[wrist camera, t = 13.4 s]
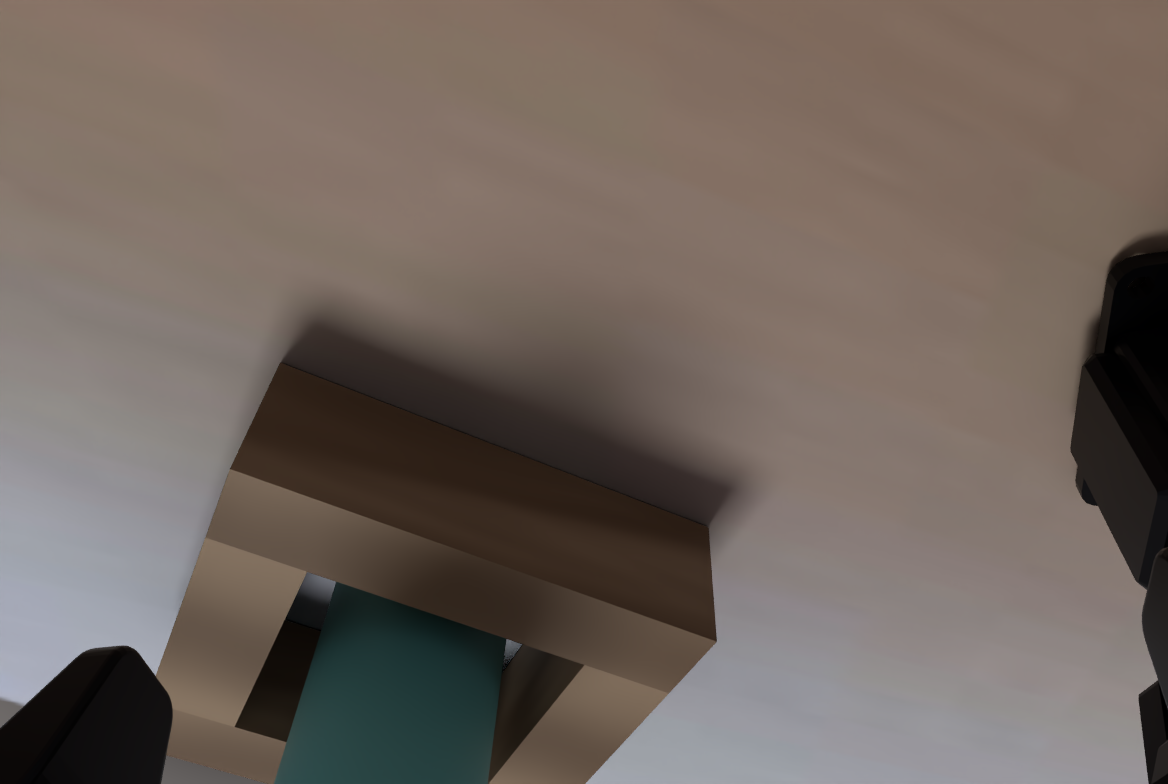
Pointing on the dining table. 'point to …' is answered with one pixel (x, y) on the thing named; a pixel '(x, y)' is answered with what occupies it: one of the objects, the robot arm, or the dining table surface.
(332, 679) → the peg
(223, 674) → the block
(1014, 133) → the dining table surface
